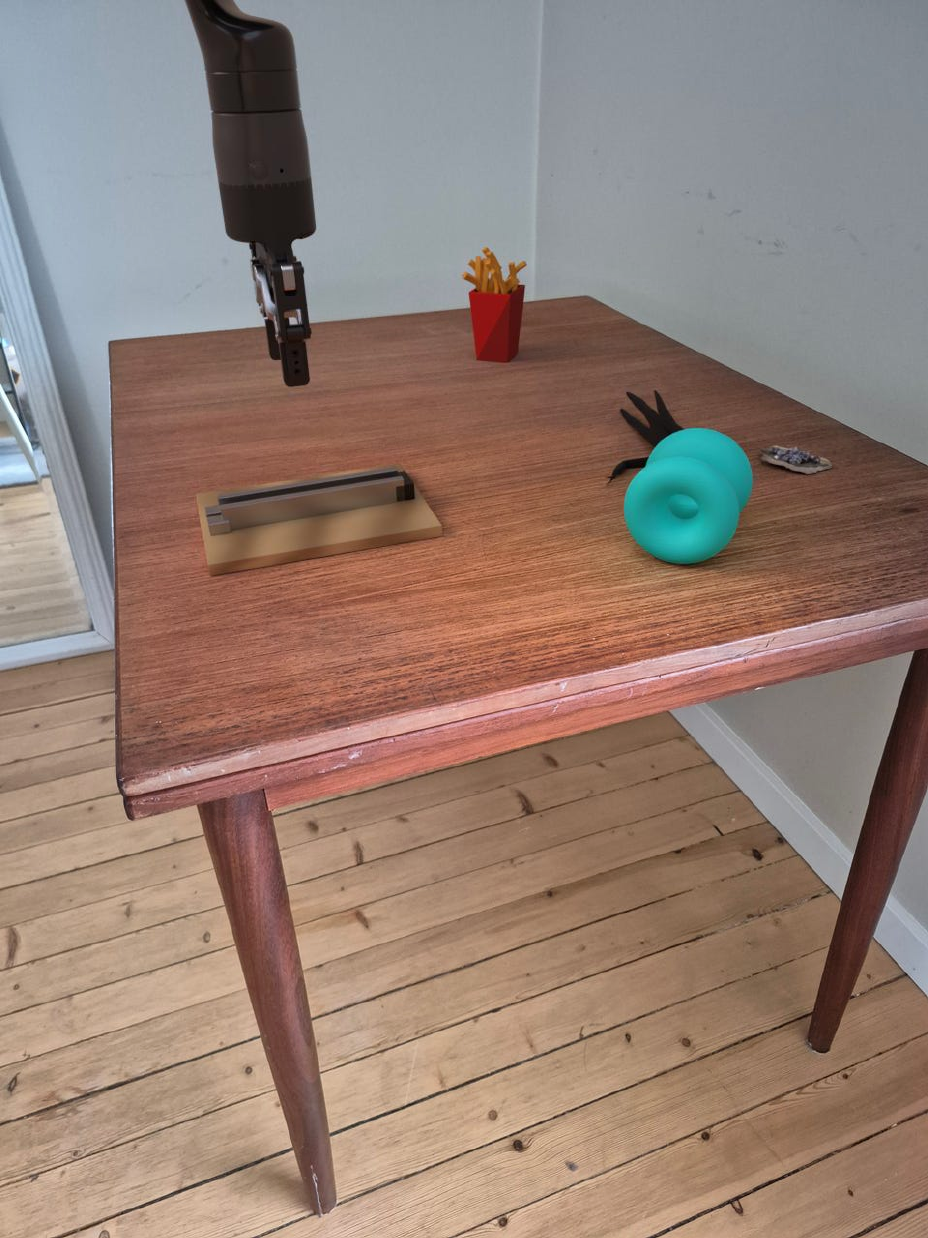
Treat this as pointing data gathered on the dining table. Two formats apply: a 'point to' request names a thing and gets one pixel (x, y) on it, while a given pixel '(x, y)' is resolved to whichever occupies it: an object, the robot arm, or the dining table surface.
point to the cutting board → (315, 531)
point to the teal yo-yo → (689, 496)
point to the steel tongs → (308, 499)
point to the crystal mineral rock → (794, 459)
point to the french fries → (495, 308)
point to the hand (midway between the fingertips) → (289, 371)
